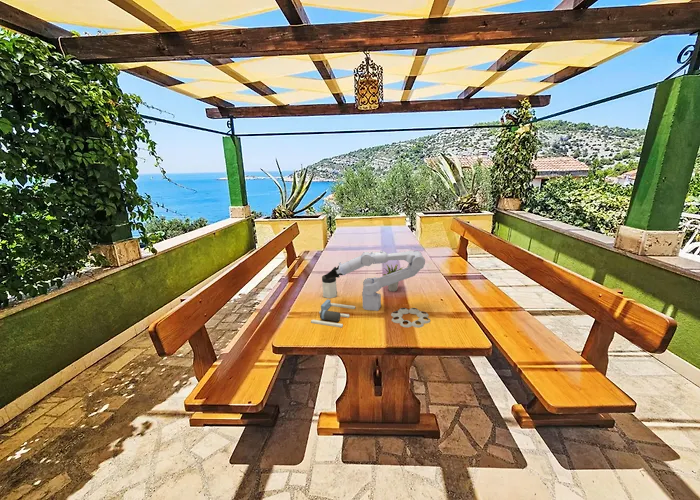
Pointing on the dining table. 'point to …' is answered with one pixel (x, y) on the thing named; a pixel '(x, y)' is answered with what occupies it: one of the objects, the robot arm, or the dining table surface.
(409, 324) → the paint palette
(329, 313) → the banded tin can
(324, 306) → the cream cylinder cradle
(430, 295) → the dining table surface
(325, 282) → the jar
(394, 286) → the house plant
